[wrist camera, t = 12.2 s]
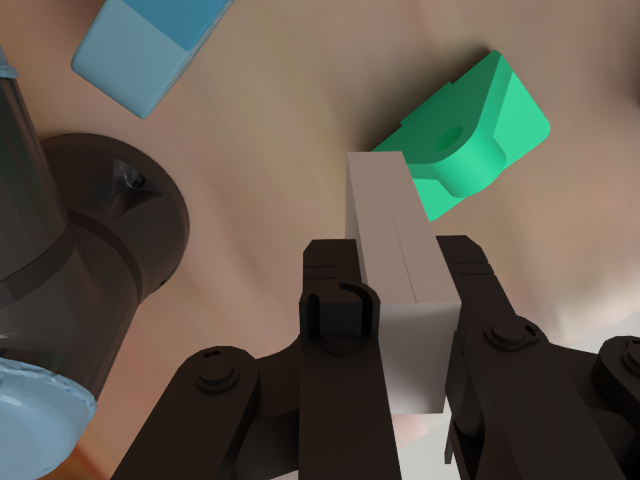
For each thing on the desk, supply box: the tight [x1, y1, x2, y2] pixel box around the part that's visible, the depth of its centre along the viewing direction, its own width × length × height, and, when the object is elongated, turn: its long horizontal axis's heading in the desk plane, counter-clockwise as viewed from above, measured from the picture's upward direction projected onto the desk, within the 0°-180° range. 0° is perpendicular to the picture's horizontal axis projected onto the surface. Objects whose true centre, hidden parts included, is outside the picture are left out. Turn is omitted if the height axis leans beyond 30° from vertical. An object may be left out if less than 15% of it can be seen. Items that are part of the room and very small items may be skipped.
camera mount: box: [371, 49, 550, 221], centre depth 37 cm, size 12×8×10 cm, turn 132°
